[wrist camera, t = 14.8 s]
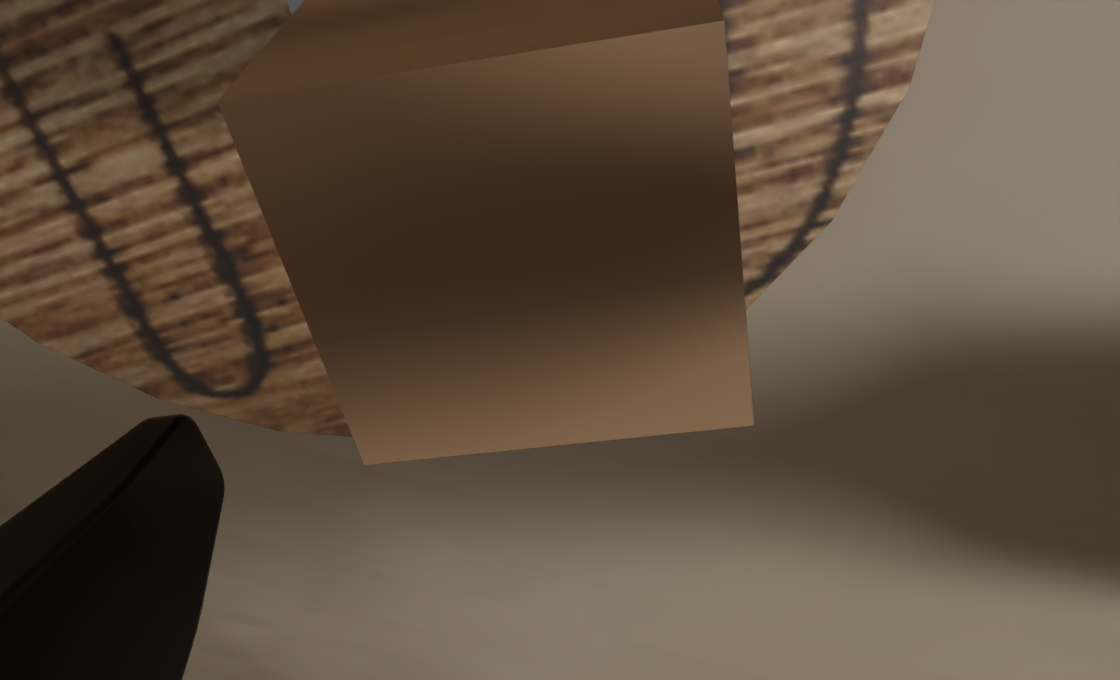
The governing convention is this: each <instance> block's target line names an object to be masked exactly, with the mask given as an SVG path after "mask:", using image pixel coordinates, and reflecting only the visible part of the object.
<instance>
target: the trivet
mask: <svg viewBox="0 0 1120 680" xmlns="http://www.w3.org/2000/svg"><path fill="white" fill-rule="evenodd" d="M718 1H719V4H720V8H721V11H722V14H723V17H724V21H725V35H726V48H727V62H728V76H729V89H730V103H731V117H732V130H733V144H734V158H735V172H736V185H737V199H738V213H739V226H740V240H741V254H742V267H743V281H744V295H745V308H746V309H747V308H748V307H749V306H750V305H751V304H752V303H753V302H754V301H755V300H756V299H757V298H758V297H759V296H760V295H761V294H762V292H763V291H764V290H765V289H766V288H767V287H768V286H769V285H770V284H771V283H772V282H773V281H774V280H775V279H776V278H777V277H778V276H779V275H780V274H781V273H782V272H783V271H784V270H785V269H786V268H787V267H788V266H789V265H790V264H791V263H792V262H793V260H794V259H795V258H796V257H797V256H798V255H799V254H800V253H801V252H802V251H803V250H804V249H805V248H806V247H807V246H808V245H809V244H810V243H811V242H812V241H813V240H814V239H815V238H816V237H817V236H818V235H819V234H820V233H821V232H822V231H823V230H824V228H825V227H826V226H827V225H828V224H829V223H830V222H831V221H832V219H833V218H834V216H835V214H836V213H837V211H838V209H839V207H840V206H841V204H842V202H843V201H844V199H845V197H846V195H847V194H848V192H849V190H850V189H851V187H852V185H853V183H854V182H855V180H856V178H857V177H858V175H859V173H860V171H861V170H862V168H863V166H864V164H865V163H866V161H867V159H868V158H869V156H870V154H871V152H872V151H873V149H874V147H875V146H876V144H877V142H878V140H879V139H880V137H881V135H882V134H883V132H884V130H885V128H886V127H887V125H888V123H889V122H890V120H891V118H892V116H893V115H894V113H895V111H896V110H897V108H898V106H899V104H900V103H901V101H902V99H903V97H904V96H905V94H906V92H907V91H908V89H909V86H910V83H911V79H912V76H913V72H914V69H915V66H916V62H917V59H918V55H919V52H920V48H921V45H922V41H923V38H924V35H925V31H926V28H927V24H928V21H929V17H930V14H931V11H932V7H933V4H934V0H718ZM290 16H291V12H290V9H289V6H288V2H287V0H0V317H1V318H3V319H4V320H5V321H7V322H8V323H10V324H11V325H13V326H14V327H16V328H17V329H18V330H20V331H21V332H23V333H24V334H26V335H27V336H28V337H30V338H31V339H33V340H34V341H36V342H38V343H41V344H43V345H45V346H47V347H49V348H51V349H53V350H55V351H58V352H60V353H62V354H64V355H66V356H68V357H70V358H72V359H75V360H77V361H79V362H81V363H83V364H85V365H87V366H90V367H92V368H94V369H96V370H98V371H100V372H102V373H104V374H107V375H109V376H111V377H113V378H115V379H117V380H119V381H122V382H124V383H126V384H128V385H130V386H132V387H134V388H136V389H139V390H141V391H143V392H145V393H147V394H149V395H151V396H154V397H156V398H158V399H162V400H166V401H169V402H173V403H177V404H180V405H184V406H188V407H192V408H195V409H199V410H203V411H206V412H210V413H214V414H218V415H221V416H225V417H229V418H232V419H236V420H240V421H244V422H247V423H251V424H255V425H258V426H262V427H266V428H270V429H273V430H277V431H284V432H297V433H310V434H323V435H336V436H349V437H353V436H352V434H351V431H350V429H349V426H348V424H347V421H346V419H345V417H344V414H343V412H342V409H341V407H340V404H339V402H338V399H337V397H336V394H335V392H334V389H333V387H332V384H331V382H330V379H329V377H328V374H327V372H326V370H325V367H324V365H323V362H322V360H321V357H320V355H319V352H318V350H317V347H316V345H315V342H314V340H313V337H312V335H311V332H310V330H309V327H308V325H307V322H306V320H305V318H304V315H303V313H302V310H301V308H300V305H299V303H298V300H297V298H296V295H295V293H294V290H293V288H292V285H291V283H290V280H289V278H288V275H287V273H286V270H285V268H284V266H283V263H282V261H281V258H280V256H279V253H278V251H277V248H276V246H275V243H274V241H273V238H272V236H271V233H270V231H269V228H268V226H267V223H266V221H265V218H264V216H263V214H262V211H261V209H260V206H259V204H258V201H257V199H256V196H255V194H254V191H253V189H252V186H251V184H250V181H249V179H248V176H247V174H246V171H245V169H244V167H243V164H242V162H241V159H240V157H239V154H238V152H237V149H236V147H235V144H234V142H233V139H232V137H231V134H230V132H229V129H228V127H227V124H226V122H225V119H224V117H223V115H222V112H221V110H220V107H219V105H218V102H217V101H218V100H219V99H220V98H221V96H222V95H223V94H224V93H225V92H226V91H227V89H228V88H229V87H230V86H231V85H232V84H233V82H234V81H235V80H236V79H237V78H238V77H239V75H240V74H241V73H242V72H243V71H244V70H245V68H246V67H247V66H248V65H249V64H250V63H251V61H252V60H253V59H254V58H255V57H256V56H257V55H258V53H259V52H260V51H261V50H262V49H263V48H264V46H265V45H266V44H267V43H268V42H269V41H270V39H271V38H272V37H273V36H274V35H275V34H276V32H277V31H278V30H279V29H280V28H281V27H282V25H283V24H284V23H285V22H286V21H287V20H288V18H289V17H290Z"/></svg>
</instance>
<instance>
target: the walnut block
mask: <svg viewBox="0 0 1120 680" xmlns="http://www.w3.org/2000/svg"><path fill="white" fill-rule="evenodd" d="M217 102H218V105H219V107H220V110H221V112H222V115H223V117H224V119H225V122H226V124H227V127H228V129H229V132H230V134H231V137H232V139H233V142H234V144H235V147H236V149H237V152H238V154H239V157H240V159H241V162H242V164H243V167H244V169H245V171H246V174H247V176H248V179H249V181H250V184H251V186H252V189H253V191H254V194H255V196H256V199H257V201H258V204H259V206H260V209H261V211H262V214H263V216H264V218H265V221H266V223H267V226H268V228H269V231H270V233H271V236H272V238H273V241H274V243H275V246H276V248H277V251H278V253H279V256H280V258H281V261H282V263H283V266H284V268H285V270H286V273H287V275H288V278H289V280H290V283H291V285H292V288H293V290H294V293H295V295H296V298H297V300H298V303H299V305H300V308H301V310H302V313H303V315H304V318H305V320H306V322H307V325H308V327H309V330H310V332H311V335H312V337H313V340H314V342H315V345H316V347H317V350H318V352H319V355H320V357H321V360H322V362H323V365H324V367H325V370H326V372H327V374H328V377H329V379H330V382H331V384H332V387H333V389H334V392H335V394H336V397H337V399H338V402H339V404H340V407H341V409H342V412H343V414H344V417H345V419H346V421H347V424H348V426H349V429H350V431H351V434H352V436H353V439H354V441H355V444H356V446H357V449H358V451H359V454H360V456H361V459H362V461H363V464H364V465H370V464H380V463H390V462H400V461H410V460H419V459H429V458H439V457H449V456H459V455H469V454H479V453H488V452H498V451H508V450H518V449H528V448H538V447H547V446H557V445H567V444H577V443H587V442H597V441H607V440H616V439H626V438H636V437H646V436H656V435H666V434H675V433H685V432H695V431H705V430H715V429H725V428H734V427H744V426H754V418H753V404H752V390H751V377H750V363H749V349H748V336H747V322H746V308H745V295H744V281H743V267H742V254H741V240H740V226H739V213H738V199H737V185H736V172H735V158H734V144H733V130H732V117H731V103H730V89H729V76H728V62H727V48H726V35H725V21H724V17H723V14H722V11H721V8H720V4H719V1H718V0H304V1H303V2H302V3H301V4H300V6H299V7H298V8H297V9H296V10H295V11H294V13H293V14H292V15H291V16H290V17H289V18H288V20H287V21H286V22H285V23H284V24H283V25H282V27H281V28H280V29H279V30H278V31H277V32H276V34H275V35H274V36H273V37H272V38H271V39H270V41H269V42H268V43H267V44H266V45H265V46H264V48H263V49H262V50H261V51H260V52H259V53H258V55H257V56H256V57H255V58H254V59H253V60H252V61H251V63H250V64H249V65H248V66H247V67H246V68H245V70H244V71H243V72H242V73H241V74H240V75H239V77H238V78H237V79H236V80H235V81H234V82H233V84H232V85H231V86H230V87H229V88H228V89H227V91H226V92H225V93H224V94H223V95H222V96H221V98H220V99H219V100H218V101H217Z"/></svg>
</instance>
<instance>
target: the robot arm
mask: <svg viewBox="0 0 1120 680" xmlns="http://www.w3.org/2000/svg"><path fill="white" fill-rule="evenodd" d="M223 498H224V479H223V475H222V472H221V469H220V467H219V465H218V464H217V462H216V460H215V458H214V456H213V454H212V452H211V450H210V448H209V447H208V445H207V443H206V441H205V439H204V437H203V435H202V433H201V432H200V430H199V428H198V426H197V424H196V423H195V421H194V420H193V419H191V418H190V417H189V416H186V415H183V414H178V415H169V416H161V417H153V418H149V419H146V420H144V421H143V422H141V423H140V424H138V425H137V426H136V427H134V428H133V429H132V430H130V431H129V432H128V433H126V434H125V435H123V436H122V437H121V438H119V439H118V440H117V441H115V442H114V443H113V444H111V445H110V446H108V447H107V448H106V449H104V450H103V451H102V452H100V453H99V454H98V455H96V456H95V457H94V458H92V459H91V460H89V461H88V462H87V463H85V464H84V465H83V466H81V467H80V468H79V469H77V470H76V471H75V472H73V473H72V474H70V475H69V476H68V477H66V478H65V479H64V480H62V481H61V482H60V483H58V484H57V485H56V486H54V487H53V488H51V489H50V490H49V491H47V492H46V493H45V494H43V495H42V496H41V497H39V498H38V499H36V500H35V501H34V502H32V503H31V504H30V505H28V506H27V507H26V508H24V509H23V510H22V511H20V512H19V513H17V514H16V515H15V516H13V517H12V518H11V519H9V520H8V521H7V522H5V523H4V524H3V525H1V526H0V680H182V678H183V674H184V671H185V668H186V665H187V662H188V658H189V655H190V652H191V649H192V645H193V642H194V638H195V634H196V631H197V627H198V623H199V619H200V615H201V610H202V606H203V601H204V596H205V591H206V586H207V580H208V575H209V570H210V565H211V560H212V555H213V550H214V545H215V539H216V534H217V529H218V524H219V519H220V514H221V509H222V503H223Z"/></svg>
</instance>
